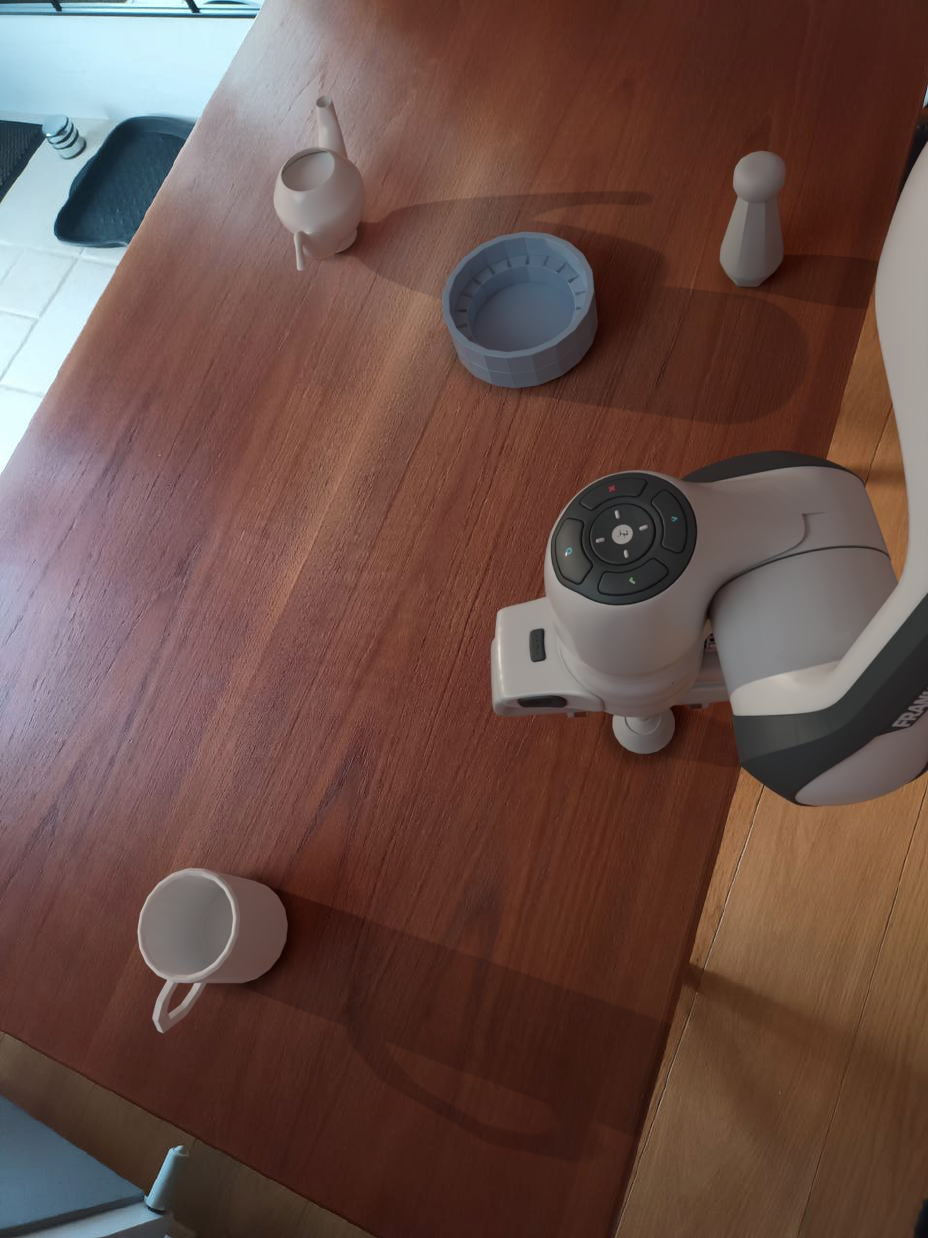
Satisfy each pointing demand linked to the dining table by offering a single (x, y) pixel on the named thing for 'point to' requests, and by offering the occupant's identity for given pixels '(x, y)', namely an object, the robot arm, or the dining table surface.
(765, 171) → the salt shaker
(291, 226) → the teapot
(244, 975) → the mug
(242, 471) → the dining table surface
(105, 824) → the dining table surface
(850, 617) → the robot arm
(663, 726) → the chalice
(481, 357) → the bowl
